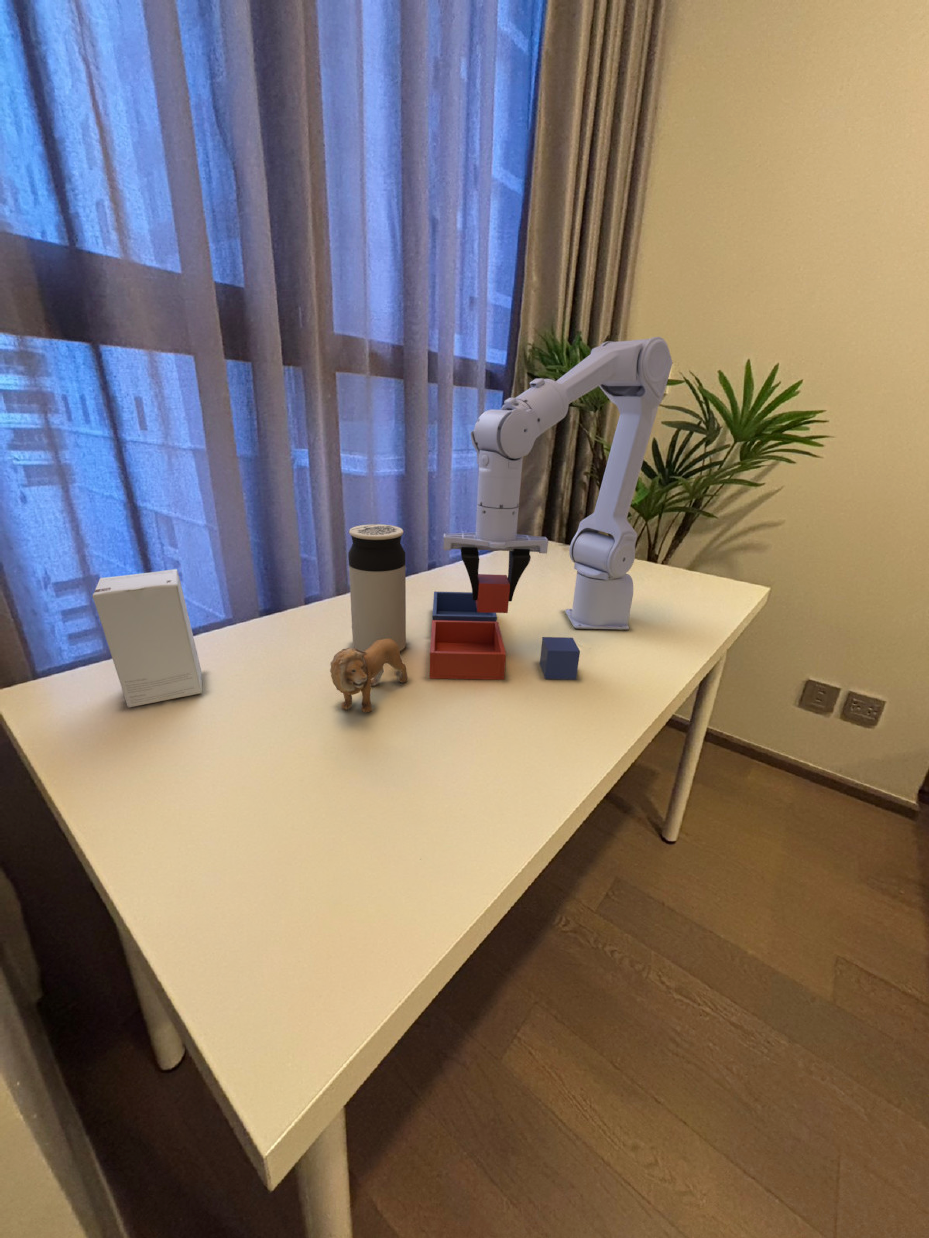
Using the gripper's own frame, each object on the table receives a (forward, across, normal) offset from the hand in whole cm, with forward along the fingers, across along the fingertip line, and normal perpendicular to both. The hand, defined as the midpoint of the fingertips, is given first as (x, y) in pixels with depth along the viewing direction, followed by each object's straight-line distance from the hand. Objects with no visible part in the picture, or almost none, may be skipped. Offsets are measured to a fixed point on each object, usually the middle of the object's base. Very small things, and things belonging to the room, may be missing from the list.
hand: (491, 598), depth 74 cm
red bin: (+8, -4, -3) cm, 10 cm away
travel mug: (+9, -17, +1) cm, 19 cm away
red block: (+1, 0, 0) cm, 1 cm away
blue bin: (+8, -4, +10) cm, 13 cm away
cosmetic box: (+9, -42, -13) cm, 44 cm away
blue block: (+8, +9, -6) cm, 14 cm away
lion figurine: (+9, -16, -14) cm, 23 cm away
